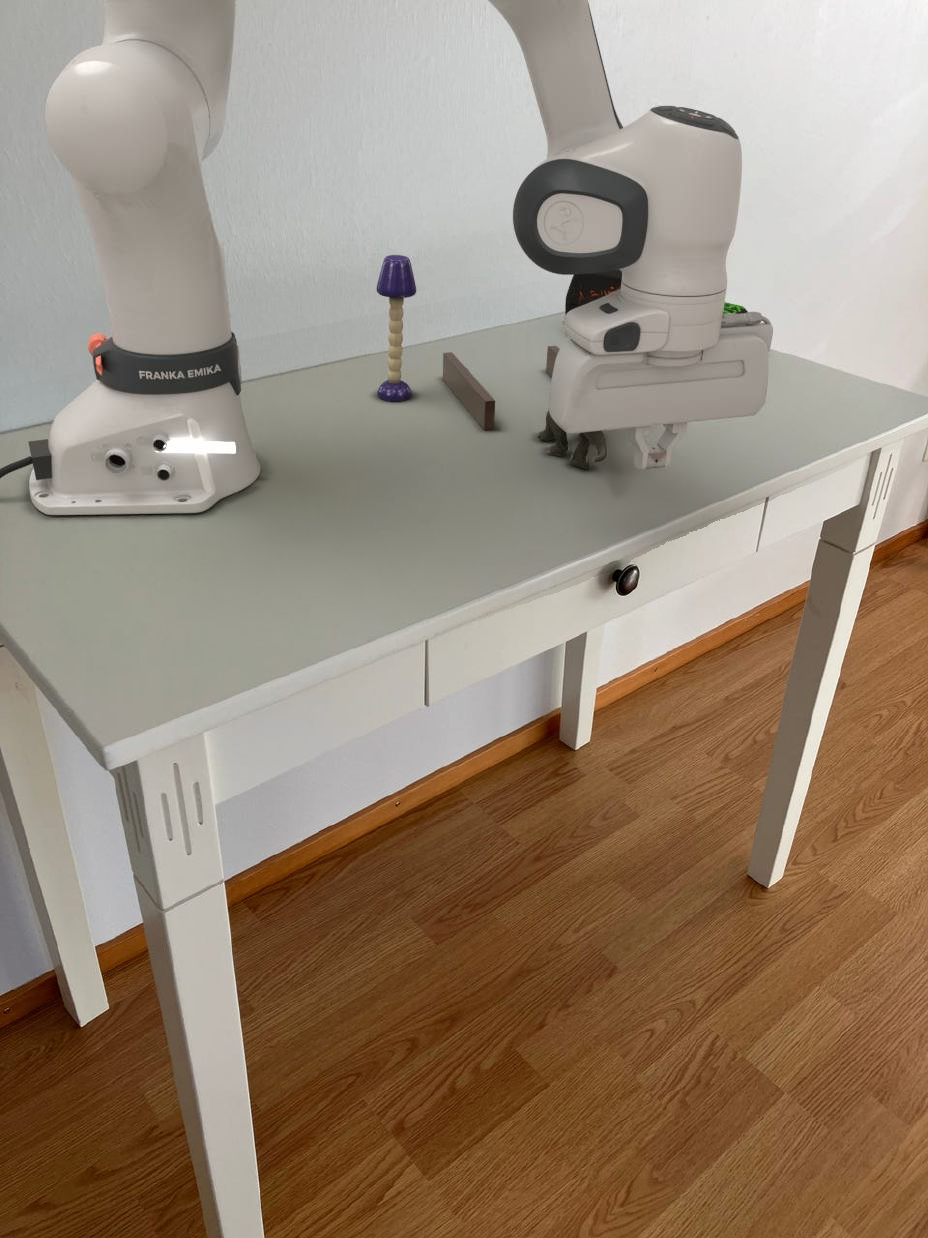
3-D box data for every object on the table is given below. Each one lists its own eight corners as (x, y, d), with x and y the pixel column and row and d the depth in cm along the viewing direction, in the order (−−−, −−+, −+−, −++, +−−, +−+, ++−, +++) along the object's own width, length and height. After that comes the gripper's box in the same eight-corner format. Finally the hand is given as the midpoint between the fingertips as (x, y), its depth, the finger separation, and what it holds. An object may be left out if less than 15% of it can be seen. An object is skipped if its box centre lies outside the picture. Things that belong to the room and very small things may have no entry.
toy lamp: (419, 391, 128) (420, 253, 119) (411, 404, 124) (411, 262, 115) (382, 388, 129) (380, 250, 120) (372, 401, 125) (370, 259, 116)
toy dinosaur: (601, 497, 103) (613, 389, 98) (518, 487, 105) (525, 381, 99) (617, 420, 122) (628, 325, 116) (547, 413, 123) (554, 319, 117)
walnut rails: (484, 430, 118) (485, 401, 116) (442, 379, 132) (443, 352, 130) (607, 419, 122) (610, 391, 120) (554, 371, 136) (556, 345, 134)
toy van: (718, 369, 139) (730, 294, 133) (558, 335, 150) (563, 265, 145) (746, 350, 146) (758, 278, 141) (591, 319, 158) (597, 252, 152)
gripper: (757, 300, 93) (733, 442, 101) (547, 314, 88) (538, 463, 96) (795, 319, 88) (767, 468, 96) (574, 336, 83) (563, 491, 91)
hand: (651, 466), depth 96 cm, fingers closed
